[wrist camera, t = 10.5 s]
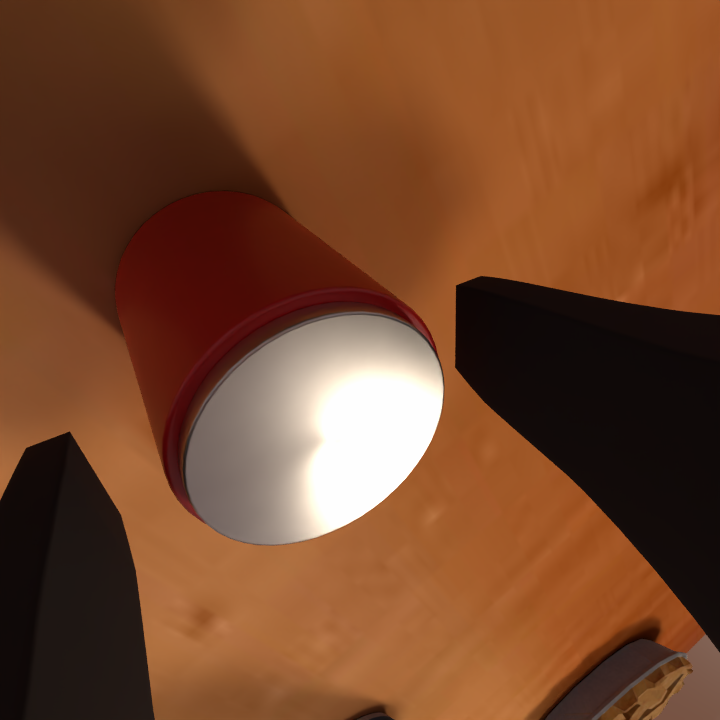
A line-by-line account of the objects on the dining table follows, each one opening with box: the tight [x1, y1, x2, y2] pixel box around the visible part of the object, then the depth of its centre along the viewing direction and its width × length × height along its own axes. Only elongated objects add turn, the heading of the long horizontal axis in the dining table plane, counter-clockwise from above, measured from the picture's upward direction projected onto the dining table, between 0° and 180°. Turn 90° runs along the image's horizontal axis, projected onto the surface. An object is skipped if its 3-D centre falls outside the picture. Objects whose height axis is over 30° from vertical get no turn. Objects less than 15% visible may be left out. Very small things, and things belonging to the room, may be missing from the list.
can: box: [115, 191, 444, 545], centre depth 11 cm, size 5×5×6 cm
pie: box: [545, 639, 693, 720], centre depth 57 cm, size 22×22×5 cm
